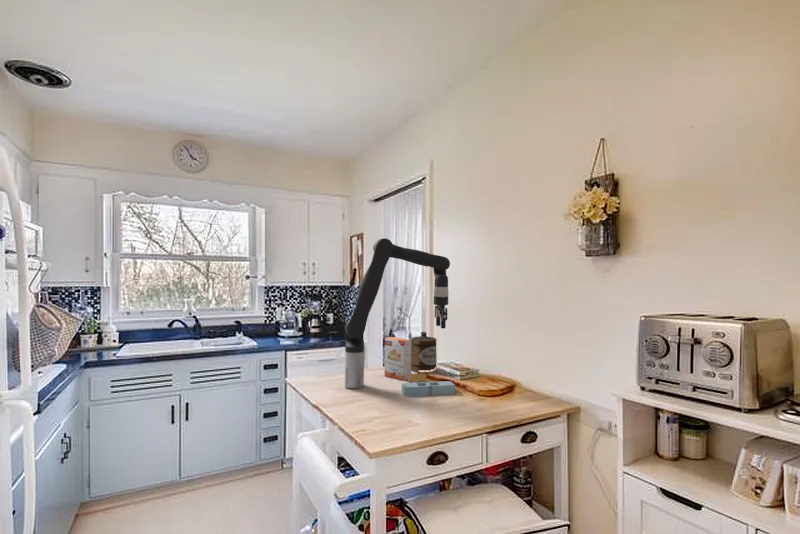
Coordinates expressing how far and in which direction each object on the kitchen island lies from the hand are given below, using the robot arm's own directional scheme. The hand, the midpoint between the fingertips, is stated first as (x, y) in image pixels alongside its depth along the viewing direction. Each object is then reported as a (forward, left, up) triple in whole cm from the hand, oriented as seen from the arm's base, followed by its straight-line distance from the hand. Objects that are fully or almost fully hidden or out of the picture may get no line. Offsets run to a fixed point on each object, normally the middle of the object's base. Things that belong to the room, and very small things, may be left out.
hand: (440, 327), depth 218 cm
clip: (-14, -7, -28) cm, 32 cm away
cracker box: (-20, +12, -29) cm, 37 cm away
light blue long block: (-11, -17, -28) cm, 35 cm away
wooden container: (-2, +26, -29) cm, 39 cm away
